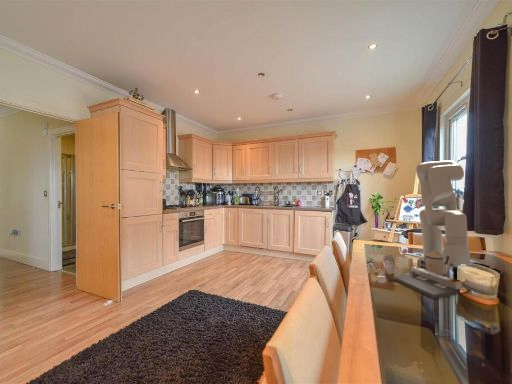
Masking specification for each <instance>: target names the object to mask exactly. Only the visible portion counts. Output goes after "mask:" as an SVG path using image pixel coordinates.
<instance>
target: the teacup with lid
mask: <svg viewBox="0 0 512 384" xmlns="http://www.w3.org/2000/svg"><path fill="white" fill-rule="evenodd" d="M421 259H425V261H426V262H425V264H423V263H421ZM417 261H418V263H419V265H420V266H421V267H423V268H424V267H425V270H427V271H430V272H433V273H436V274H439V275H441V276H444V275H446V274H447V273H448V270H447V265H445V264H444V263H443V254H441V253H439V252H437V250H433V252H430V253H426V254H425V257H422V256H420V257H419V258H418V260H417Z"/></svg>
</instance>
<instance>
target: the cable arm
mask: <svg viewBox="0 0 512 384" xmlns="http://www.w3.org/2000/svg"><path fill="white" fill-rule="evenodd" d="M410 268H411V271H410V272H411V274H412V273H414V274H417V275H420V276H423V277H425V278H428V279H430V280H433V281H435V282H438V283H441V284H443V285H446V286H448V287H451V288H453V289H461V288H462V282H460V280H457V279H453V278H449V277H446V276H444V275H439V274H436V273H433V272H430V271H427V270H426V269H424V268H422V267H419V266H417V265H416V266H415V265H414V266H413V265H412V266H411V267H410Z"/></svg>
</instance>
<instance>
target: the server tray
mask: <svg viewBox="0 0 512 384" xmlns="http://www.w3.org/2000/svg"><path fill="white" fill-rule="evenodd" d="M393 281H396V282H398V283H400V284H402V285H404V286H406V287H408V288H411V289H413V290H415V291H417V292H419V293H422V294H424V295H426V296H428V297H430V298H432V299H440V298H443V297H449V296H450V297H451V296H454V295H460V294H459V293H460V289H453V288H451V287H448V286H446V285H443V284H441V283H438V282H435V281H433V280H430V279H428V278H425V277H423V276H420V275H417V274H414V273H412V272H411V273H408V274H407V273H406V274H401V275H395V276H393Z"/></svg>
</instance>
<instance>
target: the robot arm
mask: <svg viewBox="0 0 512 384" xmlns="http://www.w3.org/2000/svg"><path fill="white" fill-rule="evenodd" d="M415 169H416V176H417V178H418V181H419V182H420V194H421V203H422V205H423V206H424V209H421V210H420V212H419V215H418V216H419V220H420V225H421V232H422V234H421V236H422V251H423V252H422V253H423V256H421V257H425V254H426V253H430V252H433V250H437V252H439V253H441V254H443V263H444V264H445V265H446V268H447V269H448V270H451V272H452V276H453V278H452V279H457V267H458V266H459V265H461V264H469V265H471V262H472V261H471V259H472V258H471V251H470V247H469V239H468V220H467V215H466V214H465V213H463V212H461V211H459V210H458V207H457V206H458V205H457V197H456V194H455V192H454V188H453V184H452V182H453V181H454V182H455V181H462V180H463V178H464V176H465V171H464V168H463V166H462V165H460V164H459V163H458V162H457V161H454V160H439V161H427V162H422V163H421V162H420V163H419V164H417V165H416V167H415ZM433 207H445V208H433ZM439 227H444V239H445V242H443V233H442V232H443V231H442V230H441V229H440V228H439ZM443 243H444V244H443ZM420 261H422V262H425V263H426V261H425V259H420Z"/></svg>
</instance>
